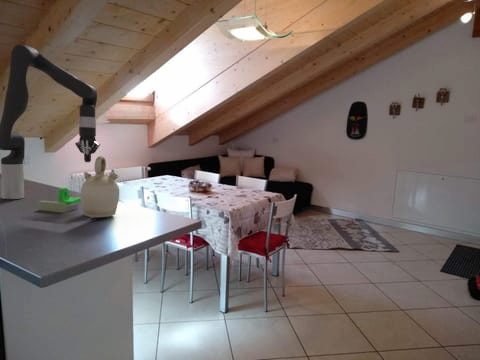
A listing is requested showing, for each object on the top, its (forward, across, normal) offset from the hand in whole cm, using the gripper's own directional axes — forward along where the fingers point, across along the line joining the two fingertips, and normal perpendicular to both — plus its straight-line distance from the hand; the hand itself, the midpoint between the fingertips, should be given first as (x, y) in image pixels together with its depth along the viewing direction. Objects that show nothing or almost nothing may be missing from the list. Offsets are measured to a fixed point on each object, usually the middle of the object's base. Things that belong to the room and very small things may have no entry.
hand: (87, 162), depth 171 cm
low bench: (+20, 0, -17) cm, 26 cm away
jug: (+20, +22, -20) cm, 36 cm away
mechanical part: (+21, -7, -3) cm, 22 cm away
